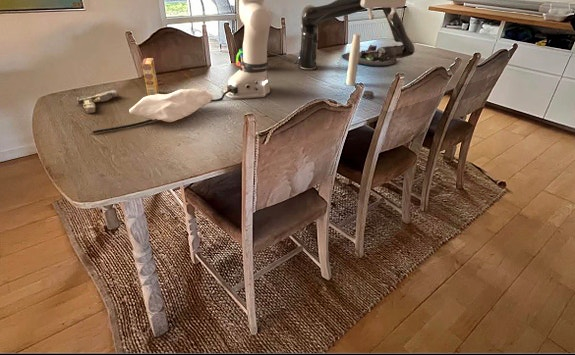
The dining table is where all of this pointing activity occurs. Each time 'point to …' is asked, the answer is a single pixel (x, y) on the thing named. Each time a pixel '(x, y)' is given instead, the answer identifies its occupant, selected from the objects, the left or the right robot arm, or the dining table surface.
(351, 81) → the cream tall cylinder
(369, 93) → the cap
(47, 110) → the dining table surface
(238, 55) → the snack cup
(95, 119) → the dining table surface
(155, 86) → the candy box
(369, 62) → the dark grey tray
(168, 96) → the crumpled cloth
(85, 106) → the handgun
